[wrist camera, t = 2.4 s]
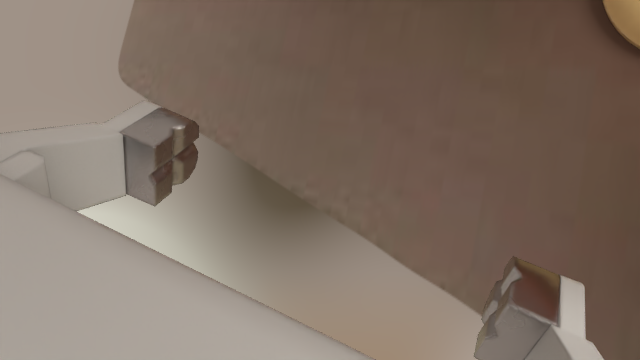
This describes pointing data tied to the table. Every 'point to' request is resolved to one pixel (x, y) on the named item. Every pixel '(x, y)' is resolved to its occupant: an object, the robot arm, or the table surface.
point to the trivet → (625, 18)
